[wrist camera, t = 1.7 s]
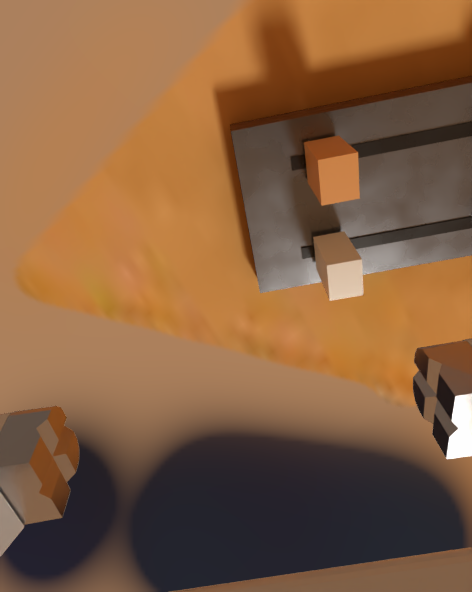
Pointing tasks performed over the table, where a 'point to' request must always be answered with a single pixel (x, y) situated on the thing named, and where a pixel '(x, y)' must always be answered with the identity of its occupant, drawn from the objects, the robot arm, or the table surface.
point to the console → (362, 182)
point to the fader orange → (332, 170)
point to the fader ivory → (338, 266)
